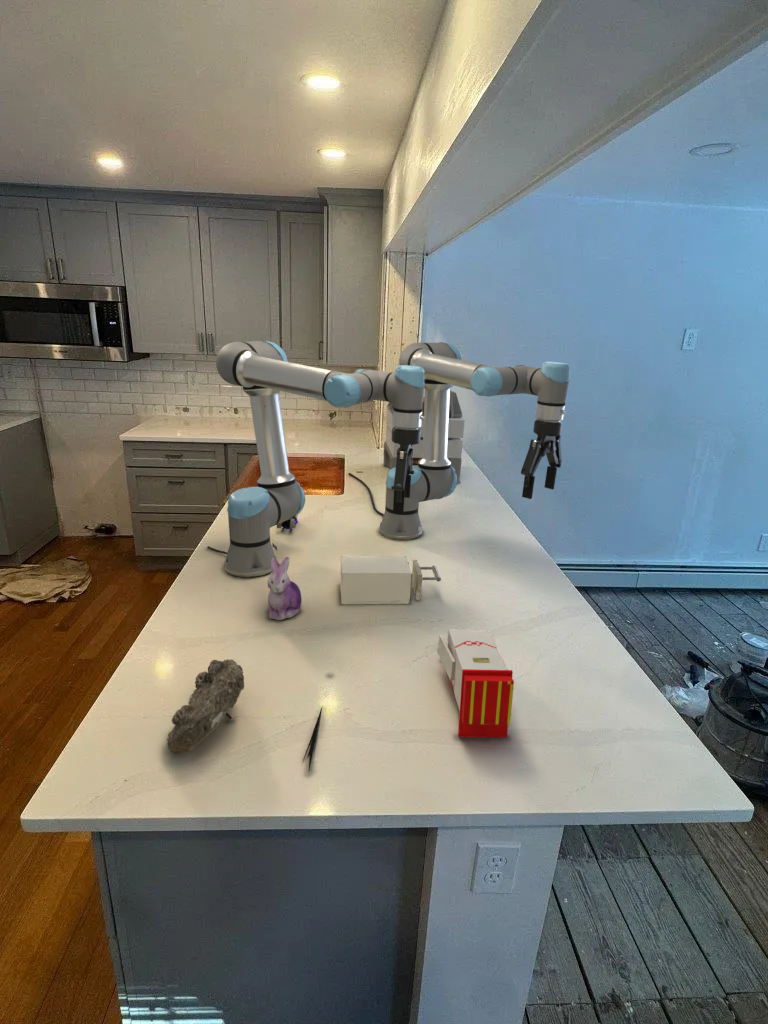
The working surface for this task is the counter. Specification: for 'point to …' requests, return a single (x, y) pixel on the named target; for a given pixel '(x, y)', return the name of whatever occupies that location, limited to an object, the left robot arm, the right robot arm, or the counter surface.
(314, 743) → the feather
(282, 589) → the figurine
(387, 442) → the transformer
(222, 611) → the counter surface
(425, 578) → the drawer
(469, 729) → the toy
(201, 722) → the fossil
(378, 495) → the counter surface
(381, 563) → the cabinet
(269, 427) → the left robot arm
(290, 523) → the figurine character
